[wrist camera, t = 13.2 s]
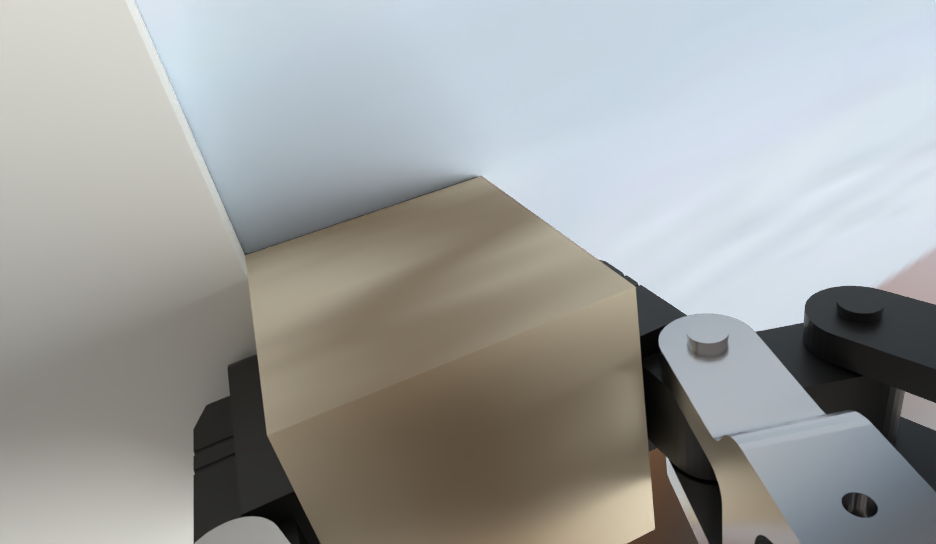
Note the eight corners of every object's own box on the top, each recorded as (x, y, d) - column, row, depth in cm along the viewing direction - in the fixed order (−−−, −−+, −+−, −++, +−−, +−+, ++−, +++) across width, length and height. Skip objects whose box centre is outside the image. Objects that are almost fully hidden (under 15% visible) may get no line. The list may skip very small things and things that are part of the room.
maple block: (481, 176, 12) (635, 286, 7) (519, 361, 14) (654, 529, 10) (244, 255, 11) (267, 436, 6) (326, 441, 13) (382, 668, 9)
